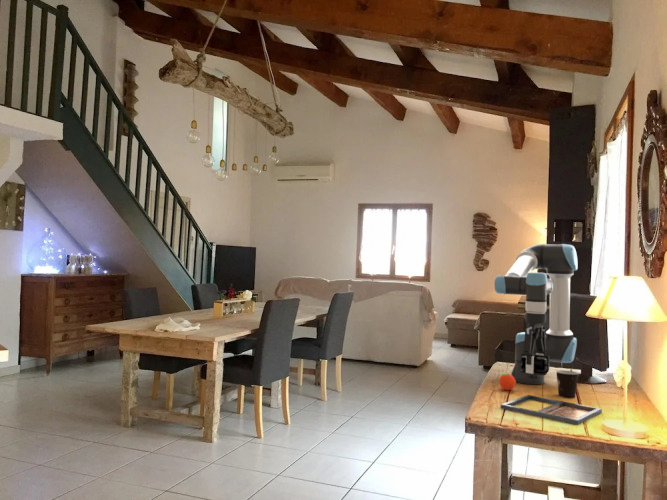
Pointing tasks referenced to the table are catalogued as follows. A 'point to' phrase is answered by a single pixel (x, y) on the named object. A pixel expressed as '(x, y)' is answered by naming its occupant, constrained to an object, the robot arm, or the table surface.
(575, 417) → the divided grey frame
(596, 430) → the table surface
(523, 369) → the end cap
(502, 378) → the clementine
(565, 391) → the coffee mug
